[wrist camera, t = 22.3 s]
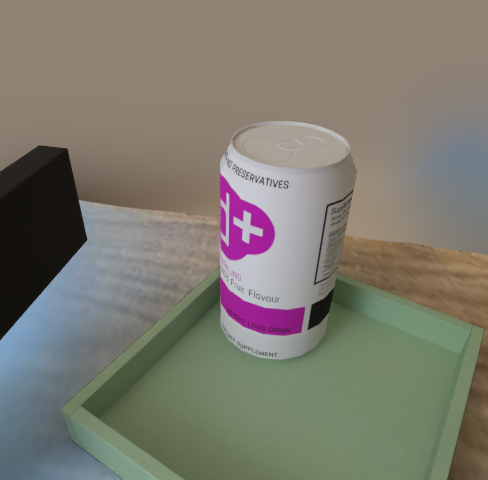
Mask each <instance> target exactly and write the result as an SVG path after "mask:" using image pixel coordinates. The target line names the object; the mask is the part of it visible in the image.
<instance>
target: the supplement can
mask: <svg viewBox="0 0 488 480" xmlns="http://www.w3.org/2000/svg"><path fill="white" fill-rule="evenodd" d="M356 172H357V170H356V168H355V165H354V162H353V159H352V157H351V154H350V145H349V143H348V142H347V141H346V139H345V138H344V137H342V136H340V135H339V134H337V133H336V132H334V131H331V130H329V129H326V128H323V127H320V126H317V125H312V124H307V123H302V122H290V121H273V122H261V123H257V124H253V125H248V126H246V127H244V128H242V129H240V130H238V131H236V132H235V134H234V135H233V136H232V137H231V144H230V145H229V147H228V149H227V151H226V152H225V154H224V156H223V157H222V159H221V161H220V324H221V327H222V329H223V331H224V333H225V335H226V336H227V338H228V340H230V341H231V342H232V343H233V344H235V345H236V346H237V347H238V348H240V349H241V350H242V351H245V352H247V353H250V354H252V355H255V356H257V357H260V358H268V359H278V360H282V359H287V358H292V357H298V356H301V355H303V354H305V353H307V352H308V351H310V350H312V349H314V348H315V347H316V346H317V345H318V344H319V342H320V341H321V340H322V338H323V337H324V336H325V331H326V326H327V321H328V316H329V311H330V306H331V301H332V296H333V291H334V286H335V281H336V276H337V271H338V265H339V260H340V255H341V250H342V245H343V240H344V235H345V229H346V225H347V220H348V214H349V210H350V204H351V200H352V194H353V190H354V185H355V179H356Z"/></svg>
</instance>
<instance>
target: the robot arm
mask: <svg viewBox="0 0 488 480" xmlns="http://www.w3.org/2000/svg"><path fill="white" fill-rule="evenodd" d="M86 241H87V236H86V232H85V227H84V222H83V218H82V213H81V209H80V204H79V200H78V195H77V191H76V186H75V181H74V177H73V172H72V168H71V163H70V158H69V154H68V149H67V148H58V147H49V146H40V145H39V146H38V147H36V148H35V149H33V150H32V151H30V152H29V153H27V154H26V155H24V156H23V157H21V158H20V159H18V160H17V161H16V162H14V163H12V164H11V165H9V166H8V167H6V168H5V169H3V170H2V171H1V172H0V340H1V339H2V338H3V336H4V335H5V334H6V333H7V332H8V331H9V330H10V328H11V327H12V326H13V325H14V324H15V323H16V321H17V320H18V319H19V318H20V317H21V316H22V315H23V313H24V312H25V311H26V310H27V309H28V308H29V306H30V305H31V304H32V303H33V302H34V301H35V300H36V298H37V297H38V296H39V295H40V294H41V293H42V292H43V290H44V289H45V288H46V287H47V286H48V285H49V283H50V282H51V281H52V280H53V279H54V278H55V277H56V275H57V274H58V273H59V272H60V271H61V270H62V268H63V267H64V266H65V265H66V264H67V263H68V262H69V260H70V259H71V258H72V257H73V256H74V255H75V254H76V252H77V251H78V250H79V249H80V248H81V247H82V245H83V244H84V243H85V242H86Z"/></svg>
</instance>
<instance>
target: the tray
mask: <svg viewBox="0 0 488 480" xmlns="http://www.w3.org/2000/svg"><path fill="white" fill-rule="evenodd" d="M483 334H484V329H483V328H480V327H477V326H475V325H472V324H470V323H467V322H465V321H462V320H459V319H457V318H454V317H452V316H449V315H446V314H444V313H441V312H439V311H436V310H433V309H431V308H428V307H426V306H423V305H420V304H418V303H415V302H413V301H410V300H407V299H405V298H402V297H400V296H397V295H394V294H392V293H389V292H387V291H384V290H381V289H379V288H376V287H374V286H371V285H368V284H366V283H363V282H361V281H358V280H355V279H353V278H350V277H348V276H345V275H342V274H340V273H337V276H336V281H335V286H334V291H333V296H332V301H331V306H330V311H329V316H328V321H327V326H326V331H325V336H324V337H323V338H322V340H321V341H320V342H319V344H318V345H317V346H316V347H315V348H314V349H312V350H310V351H308V352H307V353H305V354H303V355H301V356H298V357H292V358H287V359H282V360H278V359H268V358H260V357H257V356H255V355H252V354H250V353H247V352H245V351H242V350H241V349H240V348H238V347H237V346H236V345H235V344H233V343H232V342H231V341H230V340H228V338H227V336H226V335H225V333H224V331H223V329H222V327H221V324H220V266H219V267H218V268H217V269H216V270H215V271H213V272H212V273H211V274H210V275H209V276H208V277H207V278H206V279H205V280H203V281H202V282H201V283H200V284H199V285H198V286H197V287H196V288H194V289H193V290H192V291H191V292H190V293H189V294H188V295H187V296H186V297H184V298H183V299H182V300H181V301H180V302H179V303H178V304H177V305H176V306H174V307H173V308H172V309H171V310H170V311H169V312H168V313H167V314H166V315H164V316H163V317H162V318H161V319H160V320H159V321H158V322H157V323H155V324H154V325H153V326H152V327H151V328H150V329H149V330H148V331H147V332H145V333H144V334H143V335H142V336H141V337H140V338H139V339H138V340H137V341H135V342H134V343H133V344H132V345H131V346H130V347H129V348H128V349H126V350H125V351H124V352H123V353H122V354H121V355H120V356H119V357H118V358H116V359H115V360H114V361H113V362H112V363H111V364H110V365H109V366H108V367H106V368H105V369H104V370H103V371H102V372H101V373H100V374H99V375H98V376H96V377H95V378H94V379H93V380H92V381H91V382H90V383H89V384H87V385H86V386H85V387H84V388H83V389H82V390H81V391H80V392H79V393H77V394H76V395H75V396H74V397H73V398H72V399H71V400H70V401H69V402H67V403H66V404H65V405H64V406H63V407H62V408H61V409H60V410H61V412H62V415H63V418H64V421H65V424H66V427H67V430H68V433H69V436H70V439H71V440H72V441H74V442H75V443H76V444H78V445H79V446H80V447H82V448H83V449H84V450H85V451H87V452H88V453H89V454H91V455H92V456H93V457H95V458H96V459H97V460H99V461H100V462H101V463H103V464H104V465H105V466H106V467H108V468H109V469H110V470H112V471H113V472H114V473H116V474H117V475H118V476H120V477H121V478H122V479H124V480H448V476H449V472H450V468H451V464H452V460H453V455H454V451H455V447H456V443H457V439H458V435H459V431H460V427H461V423H462V419H463V415H464V411H465V407H466V403H467V399H468V395H469V391H470V387H471V383H472V379H473V375H474V371H475V367H476V363H477V359H478V355H479V351H480V347H481V342H482V338H483Z"/></svg>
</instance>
